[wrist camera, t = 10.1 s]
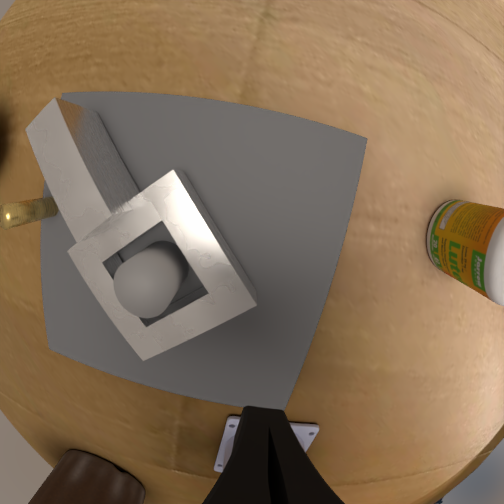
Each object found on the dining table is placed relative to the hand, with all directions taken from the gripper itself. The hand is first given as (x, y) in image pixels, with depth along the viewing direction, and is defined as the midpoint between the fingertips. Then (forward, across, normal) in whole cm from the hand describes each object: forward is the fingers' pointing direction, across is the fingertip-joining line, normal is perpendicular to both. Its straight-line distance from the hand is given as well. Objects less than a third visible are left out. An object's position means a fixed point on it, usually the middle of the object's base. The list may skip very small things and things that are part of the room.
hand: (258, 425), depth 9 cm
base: (+10, +6, -2) cm, 12 cm away
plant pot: (+10, +14, +31) cm, 35 cm away
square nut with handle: (+9, +8, -4) cm, 13 cm away
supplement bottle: (+10, -13, -8) cm, 18 cm away
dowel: (+9, +15, -4) cm, 18 cm away
